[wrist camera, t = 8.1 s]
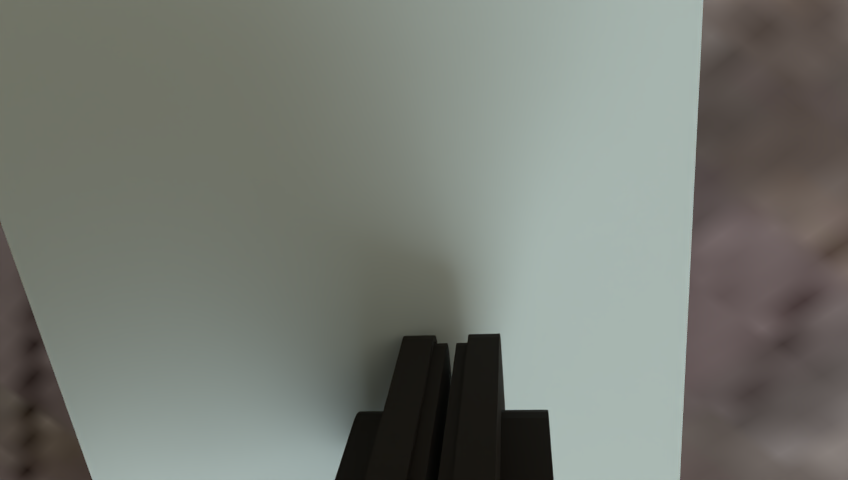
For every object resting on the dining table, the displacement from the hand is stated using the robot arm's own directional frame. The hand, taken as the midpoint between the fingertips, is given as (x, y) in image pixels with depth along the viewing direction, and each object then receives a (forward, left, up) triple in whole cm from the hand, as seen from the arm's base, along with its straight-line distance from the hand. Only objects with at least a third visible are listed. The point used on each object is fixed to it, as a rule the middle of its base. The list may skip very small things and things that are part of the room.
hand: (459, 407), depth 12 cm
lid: (0, +1, -2) cm, 2 cm away
